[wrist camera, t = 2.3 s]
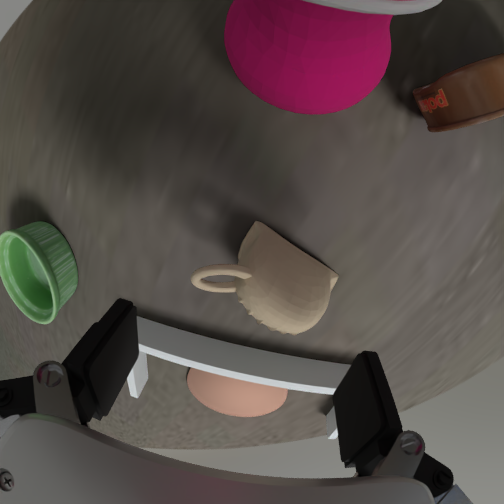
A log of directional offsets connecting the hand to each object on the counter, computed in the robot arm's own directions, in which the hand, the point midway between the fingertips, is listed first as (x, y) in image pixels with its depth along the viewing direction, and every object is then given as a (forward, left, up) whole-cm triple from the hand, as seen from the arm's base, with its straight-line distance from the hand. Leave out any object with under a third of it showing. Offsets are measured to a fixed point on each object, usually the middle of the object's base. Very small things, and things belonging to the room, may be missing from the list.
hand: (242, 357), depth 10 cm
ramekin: (+19, +5, -9) cm, 22 cm away
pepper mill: (0, -13, -9) cm, 16 cm away
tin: (-12, -17, -9) cm, 23 cm away
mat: (-1, +13, -9) cm, 16 cm away
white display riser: (-1, +12, -9) cm, 15 cm away
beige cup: (-1, 0, -9) cm, 9 cm away
